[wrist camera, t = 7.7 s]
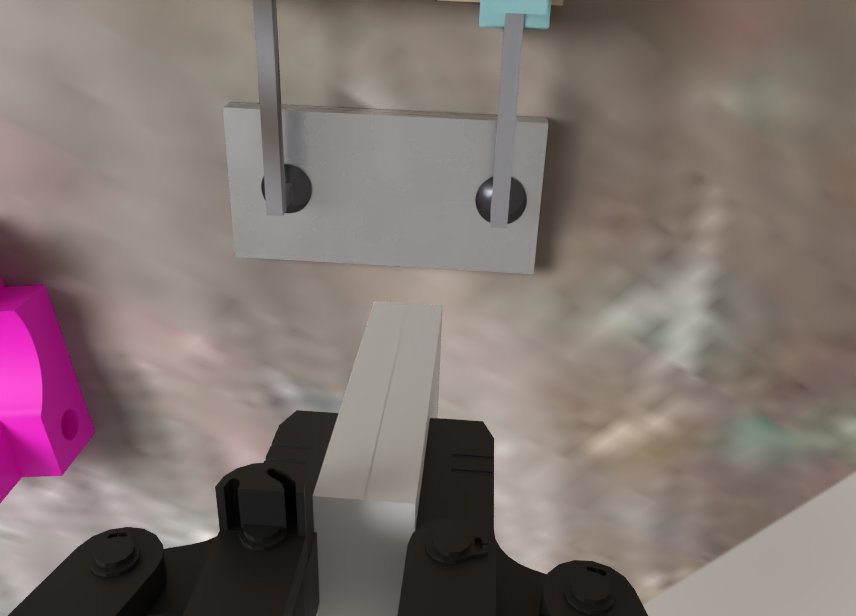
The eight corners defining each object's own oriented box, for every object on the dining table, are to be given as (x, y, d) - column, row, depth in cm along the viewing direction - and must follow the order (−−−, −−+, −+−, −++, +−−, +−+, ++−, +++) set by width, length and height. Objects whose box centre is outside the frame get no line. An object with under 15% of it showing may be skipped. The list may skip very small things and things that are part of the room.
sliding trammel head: (486, -99, 36) (485, -101, 28) (554, -97, 35) (571, -98, 28) (469, 202, 42) (464, 267, 34) (527, 205, 42) (534, 271, 34)
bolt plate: (229, 102, 41) (222, 108, 40) (546, 117, 40) (548, 123, 39) (241, 248, 44) (234, 257, 43) (532, 265, 44) (533, 275, 42)
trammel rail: (215, -85, 37) (181, -83, 33) (565, -72, 36) (574, -69, 32) (236, 187, 43) (210, 216, 39) (538, 203, 42) (543, 235, 38)
